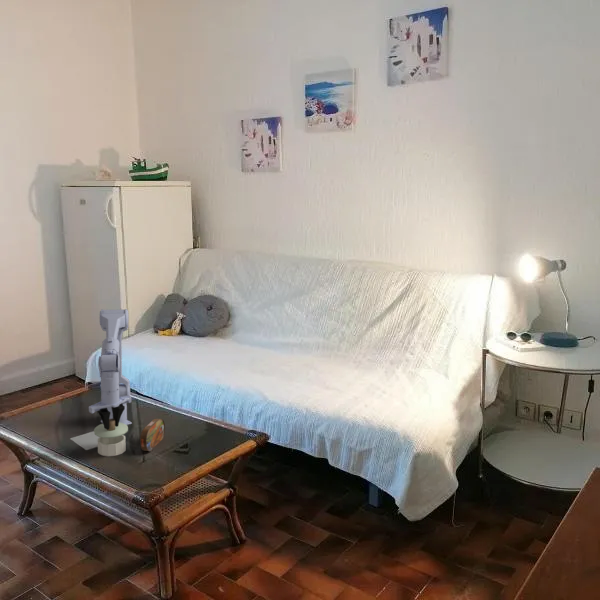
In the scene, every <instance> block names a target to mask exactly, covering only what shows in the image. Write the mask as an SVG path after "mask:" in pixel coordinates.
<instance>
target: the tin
mask: <svg viewBox="0 0 600 600" xmlns="http://www.w3.org/2000/svg"><path fill="white" fill-rule="evenodd" d="M164 420H165V419H163V418H153V419H152V420H151V421H150V422H148V424H146V425H145V427H143V429H142V430H141V433H140V436H139V437H140V438H139V440H140V448H141V450H142V451H144V452H152V451H153V450H154V448H155V447H156V446H157V445H158V444H159V443H161V441H162V440H164V436H165V435H166V434H165V433H166V424H165V421H164Z"/></svg>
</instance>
